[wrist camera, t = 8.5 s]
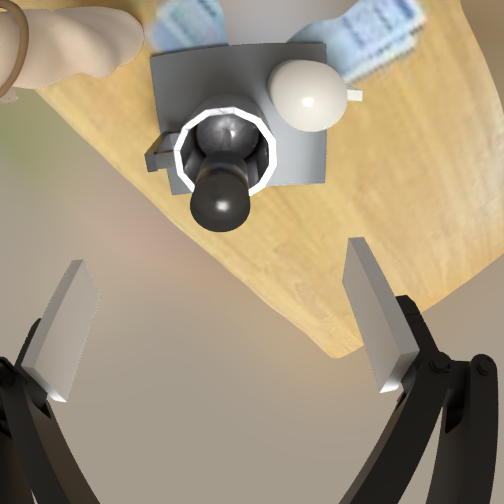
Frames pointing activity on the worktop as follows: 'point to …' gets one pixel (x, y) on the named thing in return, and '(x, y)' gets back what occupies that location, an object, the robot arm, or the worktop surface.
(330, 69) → the cream mug
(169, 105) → the slate board
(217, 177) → the plunger
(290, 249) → the worktop surface
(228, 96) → the press carafe
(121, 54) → the water bottle
